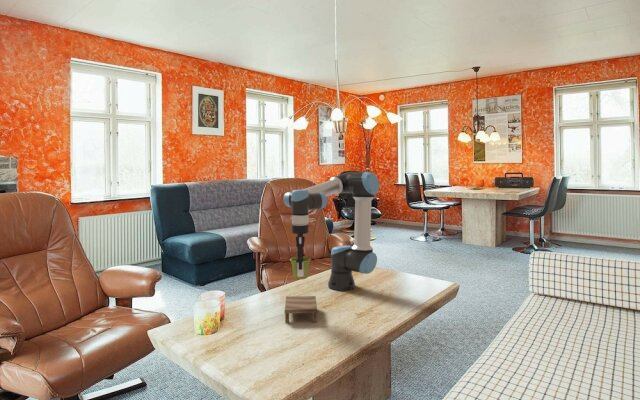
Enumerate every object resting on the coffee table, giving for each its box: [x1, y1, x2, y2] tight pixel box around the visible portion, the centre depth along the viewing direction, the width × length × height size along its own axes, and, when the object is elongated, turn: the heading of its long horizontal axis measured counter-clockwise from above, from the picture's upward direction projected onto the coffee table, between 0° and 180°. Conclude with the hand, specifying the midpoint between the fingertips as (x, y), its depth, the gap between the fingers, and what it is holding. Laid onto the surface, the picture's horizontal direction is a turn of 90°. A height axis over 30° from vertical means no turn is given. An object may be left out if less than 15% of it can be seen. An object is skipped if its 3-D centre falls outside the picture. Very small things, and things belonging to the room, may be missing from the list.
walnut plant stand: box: [284, 295, 318, 324], centre depth 182 cm, size 18×14×6 cm
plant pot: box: [289, 256, 312, 280], centre depth 181 cm, size 9×9×9 cm
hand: (300, 273), depth 181 cm, fingers closed on plant pot, 9 cm apart
